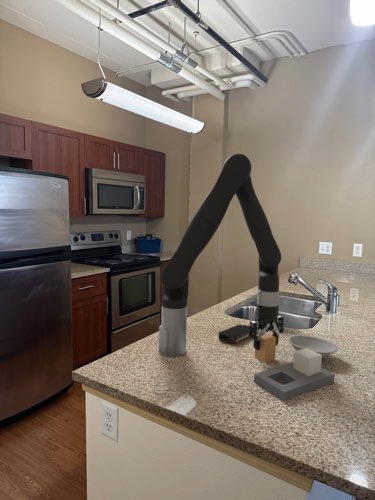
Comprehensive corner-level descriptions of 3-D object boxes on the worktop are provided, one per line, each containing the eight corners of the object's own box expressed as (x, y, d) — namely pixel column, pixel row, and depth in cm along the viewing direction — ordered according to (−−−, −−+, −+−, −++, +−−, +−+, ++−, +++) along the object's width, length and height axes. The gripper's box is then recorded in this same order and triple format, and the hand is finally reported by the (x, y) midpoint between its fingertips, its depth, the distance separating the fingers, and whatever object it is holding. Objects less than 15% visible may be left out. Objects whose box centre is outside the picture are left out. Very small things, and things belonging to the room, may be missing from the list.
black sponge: (233, 346, 132) (234, 337, 131) (216, 340, 137) (216, 331, 137) (255, 335, 144) (256, 327, 143) (238, 330, 150) (239, 322, 149)
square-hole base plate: (283, 400, 94) (285, 373, 93) (253, 381, 104) (255, 356, 103) (334, 381, 105) (336, 357, 104) (302, 366, 115) (304, 343, 115)
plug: (264, 362, 118) (265, 340, 117) (254, 356, 122) (255, 335, 121) (274, 359, 120) (276, 337, 119) (264, 354, 125) (266, 332, 124)
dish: (279, 354, 124) (279, 341, 124) (296, 344, 135) (297, 331, 134) (327, 371, 112) (328, 356, 112) (343, 358, 123) (344, 344, 122)
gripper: (260, 308, 112) (258, 355, 114) (290, 302, 119) (288, 347, 121) (245, 302, 118) (243, 347, 120) (274, 297, 126) (273, 340, 128)
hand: (266, 347), depth 121 cm, fingers open, 8 cm apart
